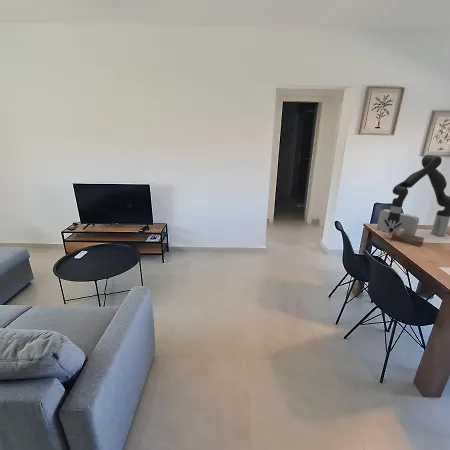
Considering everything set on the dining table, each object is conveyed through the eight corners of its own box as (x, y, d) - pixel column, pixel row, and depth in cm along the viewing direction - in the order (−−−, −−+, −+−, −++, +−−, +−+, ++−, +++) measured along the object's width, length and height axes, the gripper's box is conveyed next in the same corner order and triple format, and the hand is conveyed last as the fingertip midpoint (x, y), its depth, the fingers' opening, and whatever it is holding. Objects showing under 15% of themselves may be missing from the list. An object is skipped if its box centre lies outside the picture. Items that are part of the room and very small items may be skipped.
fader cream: (399, 232, 227) (400, 228, 226) (403, 233, 225) (404, 229, 224) (398, 233, 225) (399, 229, 224) (402, 234, 223) (403, 230, 222)
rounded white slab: (415, 237, 229) (421, 216, 223) (411, 239, 225) (417, 218, 219) (380, 227, 251) (384, 208, 245) (376, 229, 246) (380, 209, 240)
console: (394, 235, 231) (395, 231, 230) (422, 242, 219) (424, 237, 218) (390, 239, 222) (392, 235, 221) (420, 246, 210) (421, 241, 209)
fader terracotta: (396, 234, 223) (397, 230, 222) (401, 235, 221) (402, 231, 220) (396, 235, 221) (397, 231, 220) (400, 236, 219) (401, 231, 218)
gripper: (406, 212, 217) (400, 233, 223) (387, 208, 225) (382, 229, 231) (404, 214, 212) (398, 235, 217) (384, 210, 220) (380, 231, 226)
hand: (390, 232), depth 224 cm, fingers closed
